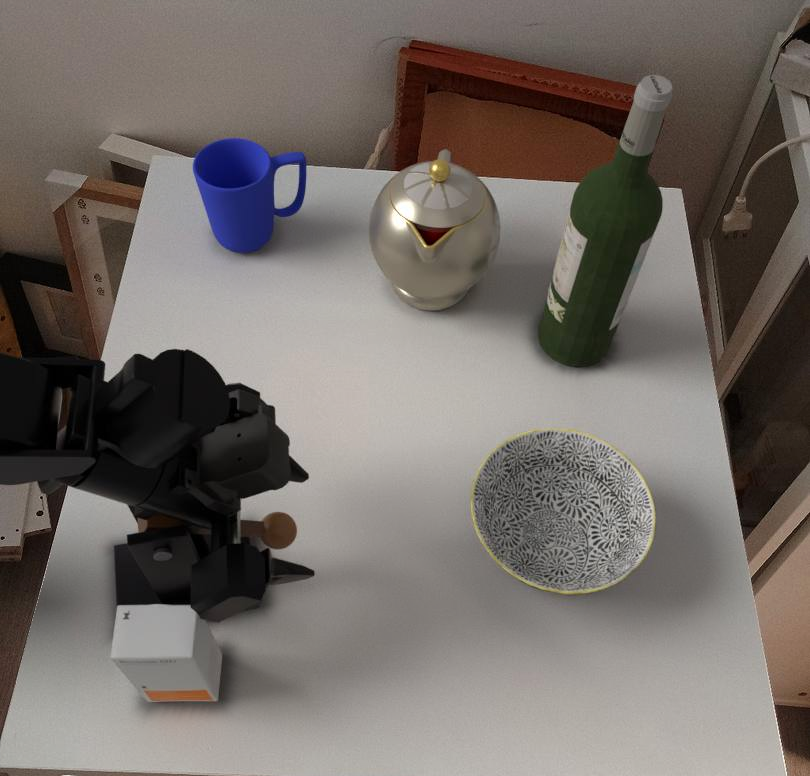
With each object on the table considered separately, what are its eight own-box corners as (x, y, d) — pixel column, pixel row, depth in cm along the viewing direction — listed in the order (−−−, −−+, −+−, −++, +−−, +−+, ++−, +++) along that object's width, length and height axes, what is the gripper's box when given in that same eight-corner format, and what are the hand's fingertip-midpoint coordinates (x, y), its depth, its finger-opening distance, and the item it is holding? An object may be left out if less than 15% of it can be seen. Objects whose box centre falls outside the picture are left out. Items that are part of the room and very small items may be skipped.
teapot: (484, 343, 89) (506, 225, 74) (359, 327, 89) (357, 207, 75) (497, 225, 98) (518, 100, 83) (383, 211, 98) (385, 84, 84)
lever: (285, 524, 73) (300, 506, 70) (290, 556, 71) (305, 539, 69) (135, 513, 66) (146, 493, 64) (137, 549, 64) (149, 529, 62)
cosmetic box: (147, 704, 69) (106, 659, 58) (153, 654, 71) (115, 602, 60) (220, 703, 69) (193, 658, 58) (225, 653, 71) (199, 601, 61)
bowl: (653, 613, 74) (680, 579, 68) (479, 635, 73) (490, 603, 66) (607, 462, 82) (627, 419, 75) (449, 479, 80) (456, 436, 74)
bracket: (248, 528, 77) (227, 455, 66) (259, 607, 73) (239, 544, 62) (117, 550, 75) (72, 480, 64) (121, 633, 72) (75, 573, 60)
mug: (321, 243, 95) (316, 171, 86) (219, 269, 93) (203, 198, 84) (299, 196, 99) (292, 122, 90) (200, 220, 96) (183, 147, 88)
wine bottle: (534, 310, 91) (599, 51, 65) (605, 312, 91) (698, 54, 65) (539, 367, 87) (611, 116, 61) (613, 369, 88) (716, 120, 61)
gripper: (210, 543, 50) (387, 596, 61) (212, 311, 60) (365, 392, 70) (114, 603, 57) (289, 641, 67) (128, 384, 66) (281, 448, 76)
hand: (308, 525), depth 70 cm, fingers open, 9 cm apart
